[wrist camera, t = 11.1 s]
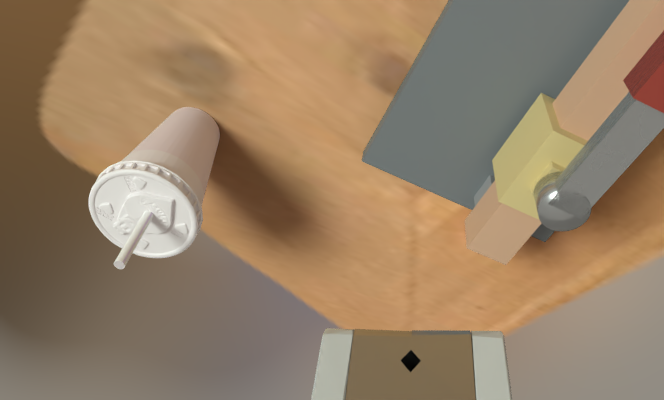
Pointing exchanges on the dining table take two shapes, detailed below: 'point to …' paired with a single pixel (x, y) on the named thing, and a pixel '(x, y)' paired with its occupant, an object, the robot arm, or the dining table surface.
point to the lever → (607, 147)
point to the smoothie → (158, 188)
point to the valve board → (509, 104)
